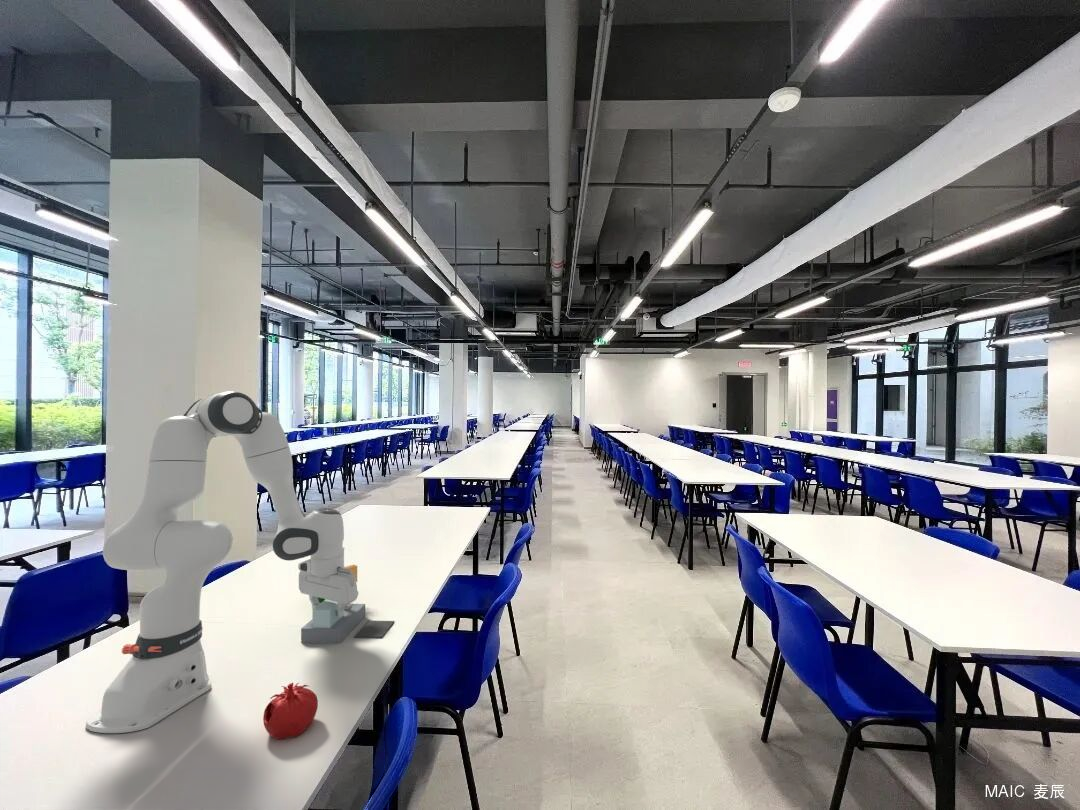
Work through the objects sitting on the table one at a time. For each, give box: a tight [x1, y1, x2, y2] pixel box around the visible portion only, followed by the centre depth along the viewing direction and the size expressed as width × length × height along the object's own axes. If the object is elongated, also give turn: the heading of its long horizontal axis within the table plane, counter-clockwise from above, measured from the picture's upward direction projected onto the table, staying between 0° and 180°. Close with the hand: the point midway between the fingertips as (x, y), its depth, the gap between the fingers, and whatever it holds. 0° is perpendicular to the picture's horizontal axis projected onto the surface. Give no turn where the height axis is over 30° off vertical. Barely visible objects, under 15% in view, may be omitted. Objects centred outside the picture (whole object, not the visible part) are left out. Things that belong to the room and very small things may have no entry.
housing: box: [300, 603, 366, 644], centre depth 141 cm, size 17×11×4 cm, turn 177°
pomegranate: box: [262, 682, 319, 740], centre depth 98 cm, size 10×10×9 cm
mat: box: [353, 620, 395, 639], centre depth 140 cm, size 10×8×1 cm
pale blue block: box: [311, 599, 342, 628], centre depth 137 cm, size 8×5×5 cm, turn 177°
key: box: [344, 564, 359, 606], centre depth 145 cm, size 8×8×12 cm
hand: (328, 612), depth 138 cm, fingers open, 8 cm apart
